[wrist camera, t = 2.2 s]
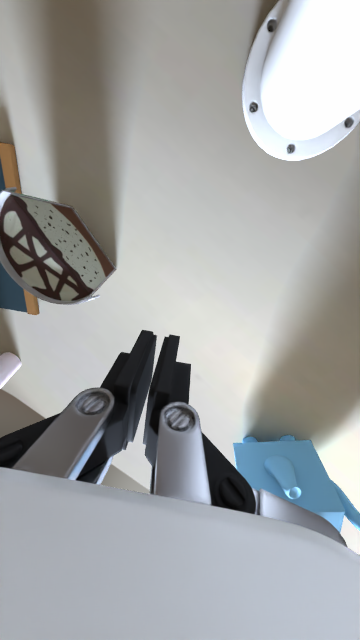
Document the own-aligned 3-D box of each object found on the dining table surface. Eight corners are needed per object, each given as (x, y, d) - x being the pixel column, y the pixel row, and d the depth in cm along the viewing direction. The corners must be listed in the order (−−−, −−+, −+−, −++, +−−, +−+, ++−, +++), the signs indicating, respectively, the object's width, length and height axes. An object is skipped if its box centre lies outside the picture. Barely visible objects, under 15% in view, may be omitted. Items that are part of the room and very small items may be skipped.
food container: (32, 222, 29) (-43, 224, 20) (64, 194, 27) (-3, 183, 18) (91, 297, 33) (51, 327, 24) (122, 278, 31) (91, 302, 22)
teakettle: (206, 454, 47) (208, 548, 34) (269, 405, 39) (303, 500, 26) (271, 489, 50) (297, 586, 37) (341, 449, 43) (404, 554, 29)
